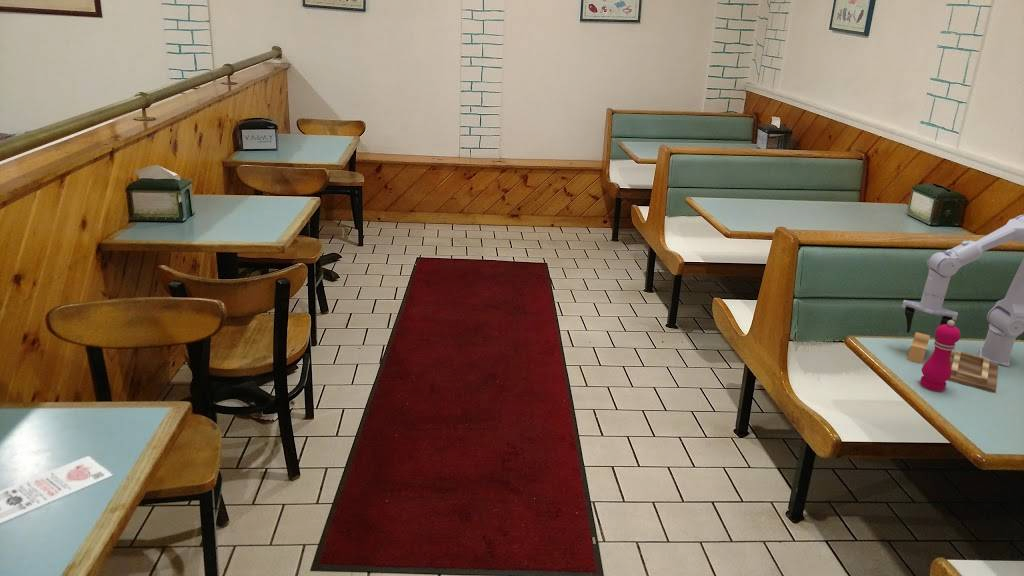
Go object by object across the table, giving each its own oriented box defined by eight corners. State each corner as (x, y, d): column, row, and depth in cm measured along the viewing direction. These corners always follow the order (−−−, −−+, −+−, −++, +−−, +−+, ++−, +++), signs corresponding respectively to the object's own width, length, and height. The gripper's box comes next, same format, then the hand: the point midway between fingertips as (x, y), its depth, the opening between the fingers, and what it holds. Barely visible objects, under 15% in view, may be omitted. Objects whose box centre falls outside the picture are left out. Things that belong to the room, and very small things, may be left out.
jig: (944, 353, 232) (946, 345, 231) (997, 366, 225) (999, 359, 225) (938, 377, 216) (940, 369, 215) (994, 392, 210) (997, 384, 209)
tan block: (911, 346, 236) (915, 332, 234) (925, 350, 234) (930, 335, 232) (907, 360, 226) (911, 345, 224) (921, 364, 224) (926, 349, 223)
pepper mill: (951, 388, 210) (972, 322, 203) (938, 394, 207) (958, 327, 199) (926, 377, 216) (945, 313, 209) (912, 383, 212) (931, 317, 205)
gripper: (905, 290, 223) (894, 332, 228) (961, 303, 216) (948, 346, 221) (908, 284, 229) (897, 325, 234) (962, 296, 222) (950, 338, 227)
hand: (922, 335), depth 228 cm, fingers open, 7 cm apart
